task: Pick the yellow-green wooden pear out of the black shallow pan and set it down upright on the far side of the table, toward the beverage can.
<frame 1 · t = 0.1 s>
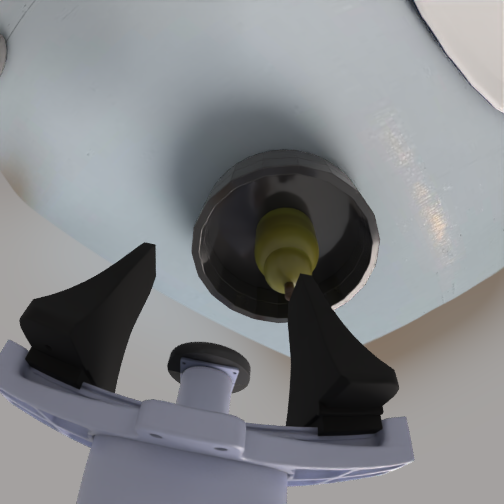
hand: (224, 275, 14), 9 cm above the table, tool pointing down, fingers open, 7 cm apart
plate: (499, 0, 7), on the table
pan: (284, 229, 23), on the table
pear: (285, 233, 22), point 1 cm above the table, touching pan
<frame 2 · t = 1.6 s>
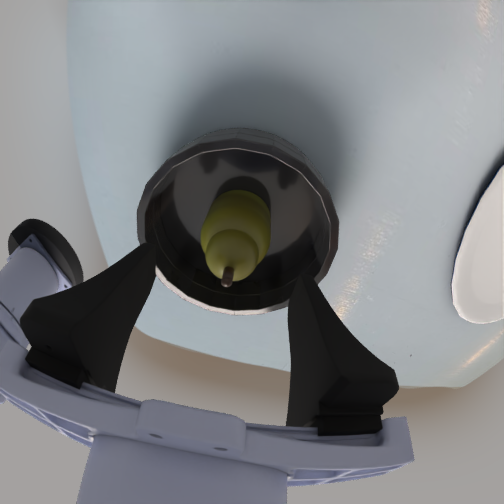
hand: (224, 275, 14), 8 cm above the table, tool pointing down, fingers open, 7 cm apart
pan: (240, 214, 21), on the table
pear: (239, 218, 21), point 1 cm above the table, touching pan
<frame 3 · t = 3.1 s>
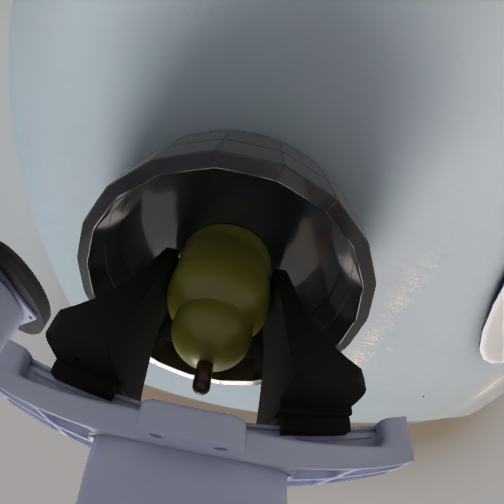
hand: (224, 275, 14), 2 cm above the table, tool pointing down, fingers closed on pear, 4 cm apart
pan: (228, 255, 15), on the table
pear: (226, 262, 15), point 1 cm above the table, touching gripper, pan
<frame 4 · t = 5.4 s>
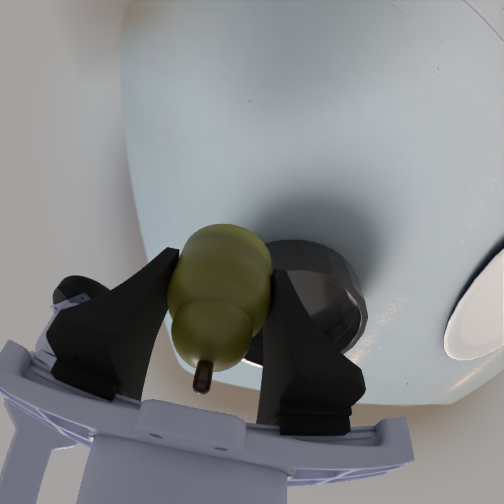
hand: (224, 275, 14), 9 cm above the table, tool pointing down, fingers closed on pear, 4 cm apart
pan: (289, 298, 26), on the table
pear: (226, 262, 15), point 8 cm above the table, touching gripper
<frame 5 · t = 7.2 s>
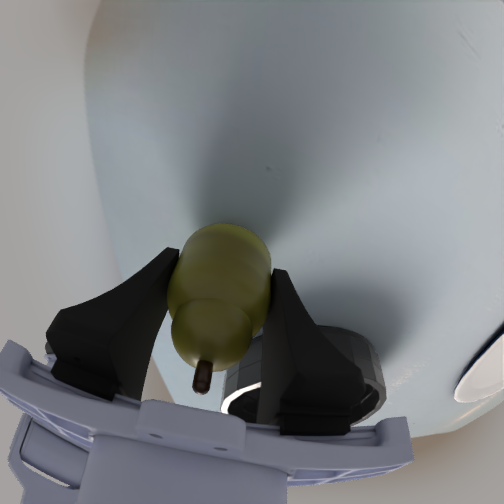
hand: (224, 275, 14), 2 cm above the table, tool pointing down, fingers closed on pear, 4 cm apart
pan: (302, 373, 23), on the table
pear: (226, 262, 14), point 1 cm above the table, touching gripper
when the fingers open (1 cm above the table, at t = 8.1 s): pear stays where it is, on the table.
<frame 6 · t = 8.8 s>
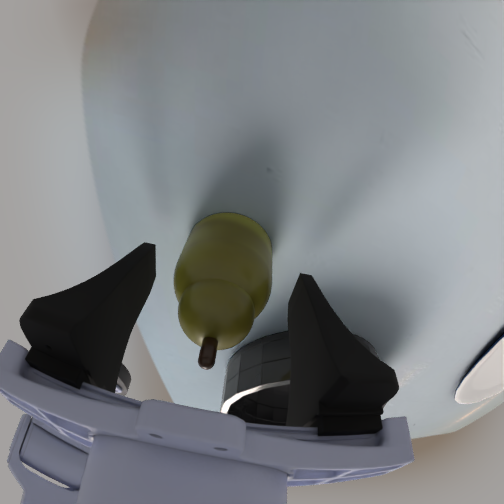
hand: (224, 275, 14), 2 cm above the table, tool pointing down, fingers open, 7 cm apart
pan: (303, 376, 22), on the table
pear: (229, 250, 15), on the table
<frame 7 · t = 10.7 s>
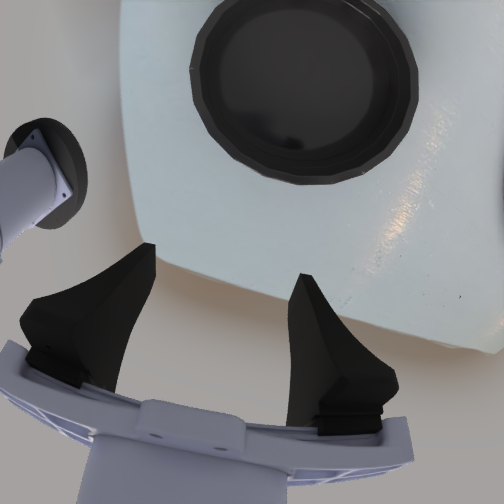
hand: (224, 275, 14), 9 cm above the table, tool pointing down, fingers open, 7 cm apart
pan: (303, 76, 16), on the table
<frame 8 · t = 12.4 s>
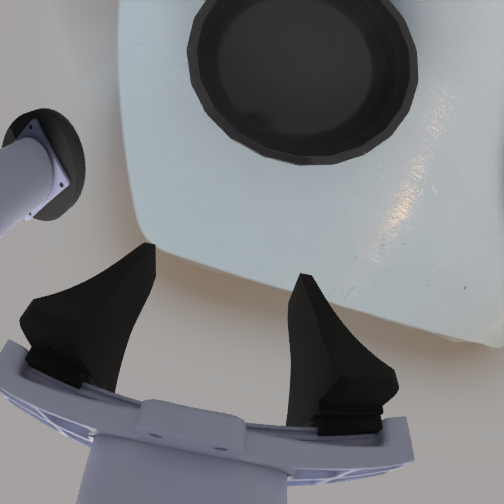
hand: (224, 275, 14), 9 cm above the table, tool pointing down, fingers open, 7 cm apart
pan: (301, 60, 15), on the table
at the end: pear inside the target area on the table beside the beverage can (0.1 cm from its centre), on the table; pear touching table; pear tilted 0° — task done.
